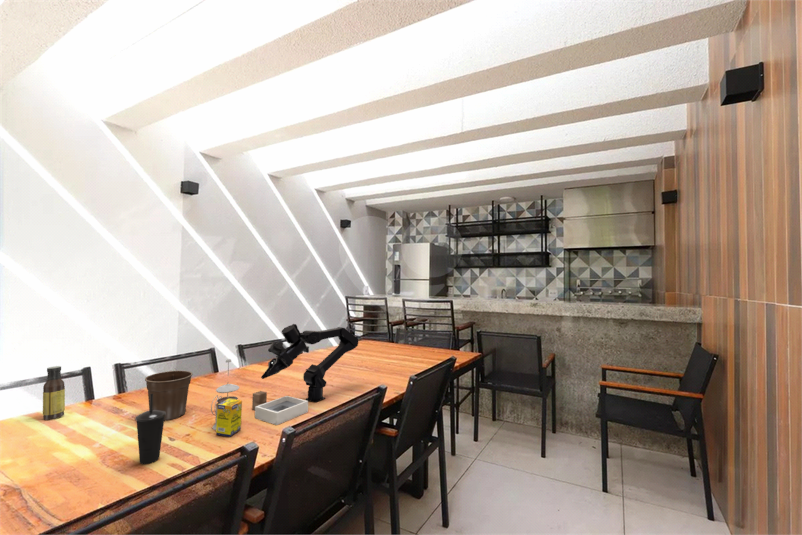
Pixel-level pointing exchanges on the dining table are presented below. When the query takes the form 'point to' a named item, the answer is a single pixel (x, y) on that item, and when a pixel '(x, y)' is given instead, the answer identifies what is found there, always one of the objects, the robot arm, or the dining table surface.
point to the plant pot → (169, 392)
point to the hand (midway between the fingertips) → (264, 376)
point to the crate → (284, 414)
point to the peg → (259, 399)
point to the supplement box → (228, 417)
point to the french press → (224, 389)
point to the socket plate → (281, 406)
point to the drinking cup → (150, 433)
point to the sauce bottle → (53, 394)
